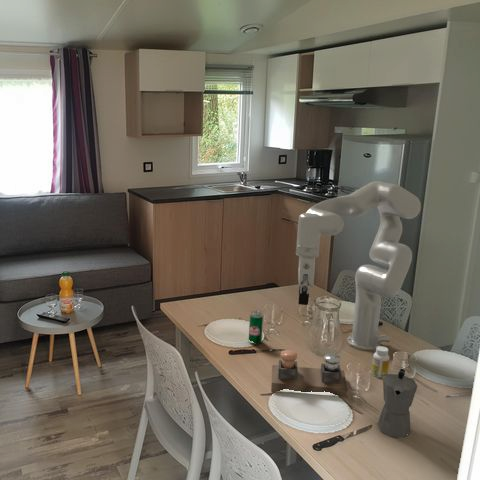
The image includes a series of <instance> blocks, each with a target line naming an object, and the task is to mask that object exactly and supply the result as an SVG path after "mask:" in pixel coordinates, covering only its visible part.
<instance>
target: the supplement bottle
mask: <svg viewBox="0 0 480 480" xmlns="http://www.w3.org/2000/svg"><path fill="white" fill-rule="evenodd" d="M389 366H390V355H389V348H388V347H386V346H381V345H380V346H378V347H377V348H376V349H375V352H374V353H373V357H372V364H371V375H372V376H374V377H376V378H380V379H381V378H382V379H383V378H384V377H386V376H387V375H389Z"/></svg>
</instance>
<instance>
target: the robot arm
mask: <svg viewBox="0 0 480 480" xmlns="http://www.w3.org/2000/svg"><path fill="white" fill-rule="evenodd" d="M375 208H377V211H378V214H379V219H380V222H379V227H378V230H377V233H376V235H375V237H374V240H373V242H372V245H371V247H370V249H369V255H368V256H369V259H370V260H371V261H373V262H374V263H377V264H380V265H382V266H385V267H388V269H385V268H383V267H379V266H376V265H373V264H368V263H367V264H362V265H360V266H359V267H358V268H357V269H356V272H355V277H354V283H355V303H354V312H353V319H352V329H351V332H352V333H351V334H350V335H349V336H348V337H347V339H346V341H347V344H348V345H349V346H350V347H352V348H355V349H357V350H361V351H376V348H377V347H378V346H381V343H382V342H383V343H390V341H391V340H390V337H389V336H386V334H379V322H380V314H381V306H382V300H381V299H382V298H381V297H384V298H387V299H391V298H394V297H396V296H397V295H398V294H399V292H400V291H401V288H402V287H403V284H404V281H405V279H406V276H407V274H408V272H409V269H410V266H411V264H412V261H413V251H412V250H411V248H410V247H409V246H408V245H406V244H404V243H400V239H401V236H402V234H403V223H402V220H401V218H403V219H408V220H412V219H414V218H416V217H418V215H419V214H420V212H421V209H422V204H421V201H420V198H419V197H418V196H416V195H415V194H414V193H412V192H410V191H408V190H407V189H405V188H404V187H403V186H400V185H398V184H397V183H396V184H395V183H390V182H385V181H378V180H375V181H371V182H369V183H367V184H366V185H363V186H362V187H360V188H359V189H356V190H354V191H353V192H351V193H349V194H347V195H342V196H337V197H333V198H328V199H326V200H325V199H324V200H322V201H320V202H318V203H316V204H314V205H313V206H311V207H310V208H309V209H308V210H307V211H306V212H304V213H301V214H300V215H299V216H298V222H297V232H296V233H297V234H296V235H297V236H296V247H295V255H296V256H297V257H299V258H298V267H297V269H298V272H297V274H298V277H297V278H298V285H299V289H298V305H301V306H309V301H310V300H309V299H310V293H309V289H310V287H311V288H312V287H314V282H315V281H314V280H315V271H316V269H315V268H316V258H319V256H320V255H319V254H320V244H321V243H320V242H321V236H335V235H338V234H340V233H341V232H342V231H343V229H344V226H345V221H344V219H345V218H346V219H347V218H349V219H350V218H353V219H354V218H359V217H361V216H364V215H365V214H367V213H369V212H371V211H372V210H373V209H375ZM343 218H344V219H343Z"/></svg>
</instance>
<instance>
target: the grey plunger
mask: <svg viewBox="0 0 480 480" xmlns="http://www.w3.org/2000/svg"><path fill="white" fill-rule="evenodd" d="M323 360H324V362H325V363H324V364H325V371H326V372H337V370H338V365H339V364H340V363H341V356H340V355H339V354H336V353H331V352H329V353H325V354H324V356H323Z"/></svg>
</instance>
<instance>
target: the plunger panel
mask: <svg viewBox="0 0 480 480" xmlns="http://www.w3.org/2000/svg"><path fill="white" fill-rule="evenodd" d="M348 388H349V387H348V383H347V378H346V375H345V370H344V369H343V370H342V369H341V365H340V364H338V370H337V372H326V371H325V363H321V365H320V368H315V367H304V366H298V361H296V360H295V363H294V369H288V368H282V359H279V360H278V364H272V369H271V389H270V391H271V392H276V391H280V390H283V389H289V390H294V391H301V392H311V391H312V392H324V391H325V392H330V393H333V394H335V395H338V396H339V397H338V398H348V393H349V389H348ZM276 393H277V392H276Z"/></svg>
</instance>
